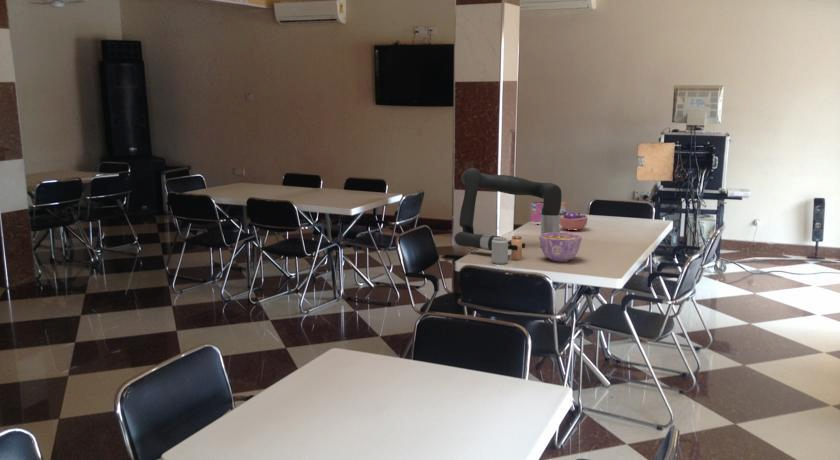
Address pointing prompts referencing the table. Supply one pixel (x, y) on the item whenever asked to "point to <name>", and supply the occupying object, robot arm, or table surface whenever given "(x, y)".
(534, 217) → the gum box
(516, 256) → the jar
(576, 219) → the cell model
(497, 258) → the can
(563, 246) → the bowl of food
